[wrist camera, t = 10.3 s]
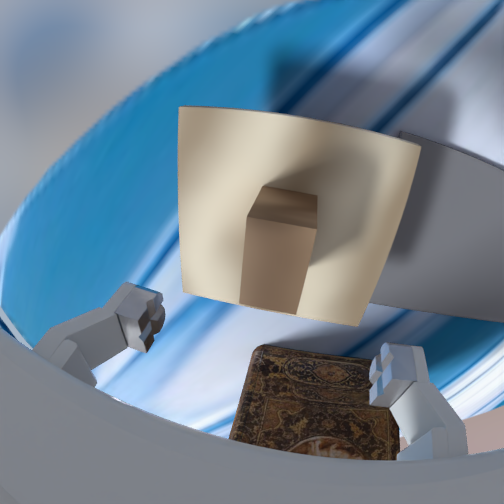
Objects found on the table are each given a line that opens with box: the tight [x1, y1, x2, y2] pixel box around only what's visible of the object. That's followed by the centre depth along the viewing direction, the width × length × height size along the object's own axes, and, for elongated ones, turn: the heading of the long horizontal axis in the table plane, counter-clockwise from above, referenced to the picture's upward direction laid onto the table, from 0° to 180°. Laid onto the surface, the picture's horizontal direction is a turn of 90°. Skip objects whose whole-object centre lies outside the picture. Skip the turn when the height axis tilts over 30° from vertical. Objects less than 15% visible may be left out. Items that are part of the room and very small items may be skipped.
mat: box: [369, 131, 504, 323], centre depth 20 cm, size 20×15×1 cm
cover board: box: [178, 106, 421, 327], centre depth 16 cm, size 13×13×5 cm
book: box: [229, 345, 400, 461], centre depth 21 cm, size 16×6×25 cm, turn 87°
